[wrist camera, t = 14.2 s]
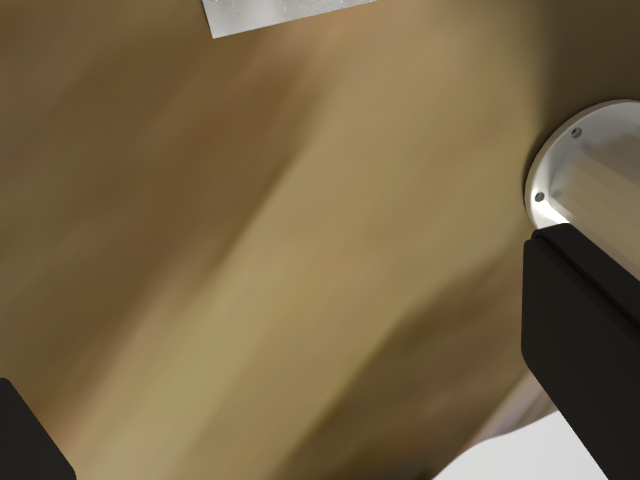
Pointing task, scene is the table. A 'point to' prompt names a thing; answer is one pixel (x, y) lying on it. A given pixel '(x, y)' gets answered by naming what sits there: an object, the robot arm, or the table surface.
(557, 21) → the table surface
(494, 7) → the table surface
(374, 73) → the table surface
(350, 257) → the table surface
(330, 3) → the chassis plate
